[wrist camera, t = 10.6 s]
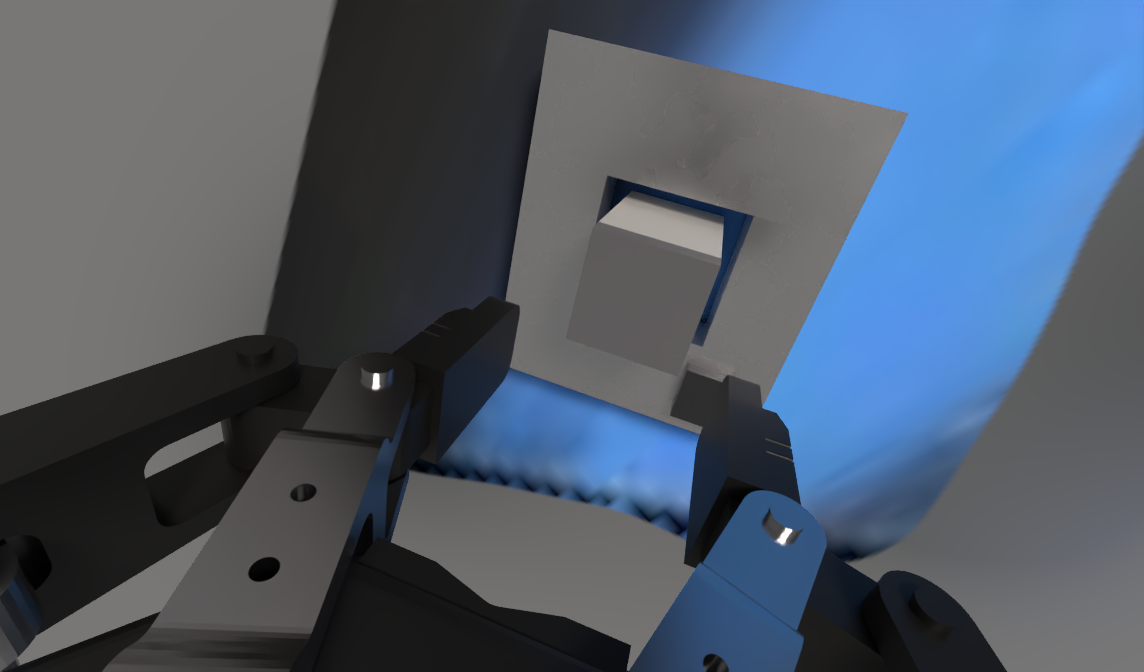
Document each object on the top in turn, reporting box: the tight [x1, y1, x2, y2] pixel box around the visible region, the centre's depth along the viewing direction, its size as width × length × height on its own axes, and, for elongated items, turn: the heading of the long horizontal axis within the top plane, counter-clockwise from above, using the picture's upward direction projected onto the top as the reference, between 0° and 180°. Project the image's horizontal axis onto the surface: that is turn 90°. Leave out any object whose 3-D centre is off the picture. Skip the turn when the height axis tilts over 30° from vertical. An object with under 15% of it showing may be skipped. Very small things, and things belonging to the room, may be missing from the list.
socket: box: [506, 29, 908, 434], centre depth 20 cm, size 14×12×3 cm
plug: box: [566, 191, 724, 377], centre depth 19 cm, size 4×4×7 cm
